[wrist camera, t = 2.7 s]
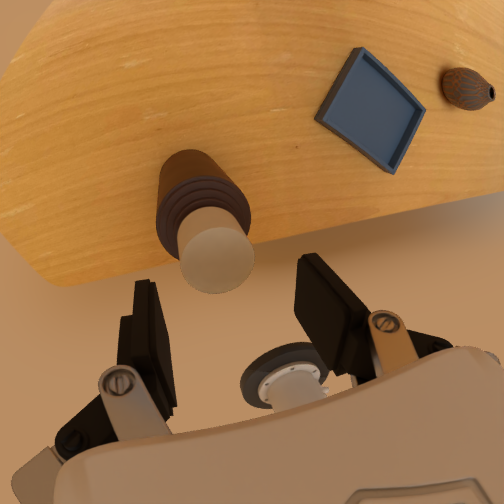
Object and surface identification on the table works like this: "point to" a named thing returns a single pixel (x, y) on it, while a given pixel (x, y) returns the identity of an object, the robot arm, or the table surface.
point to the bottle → (194, 195)
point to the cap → (214, 251)
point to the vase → (467, 89)
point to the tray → (372, 110)
